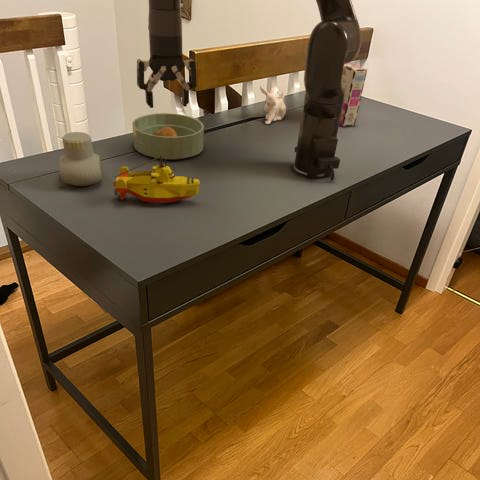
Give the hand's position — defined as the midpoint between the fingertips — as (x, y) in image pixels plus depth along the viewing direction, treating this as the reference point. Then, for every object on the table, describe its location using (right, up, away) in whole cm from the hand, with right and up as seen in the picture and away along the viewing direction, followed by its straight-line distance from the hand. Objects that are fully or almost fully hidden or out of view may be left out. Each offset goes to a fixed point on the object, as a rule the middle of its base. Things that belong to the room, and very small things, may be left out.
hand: (167, 106), depth 118 cm
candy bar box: (+50, +11, +35) cm, 63 cm away
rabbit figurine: (+28, +11, +32) cm, 44 cm away
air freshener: (-17, -22, -11) cm, 30 cm away
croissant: (-1, -7, +7) cm, 10 cm away
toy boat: (0, -28, -16) cm, 32 cm away
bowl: (-1, -8, +7) cm, 11 cm away
